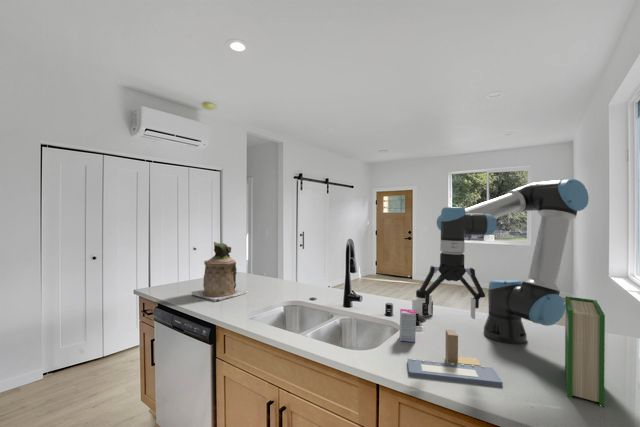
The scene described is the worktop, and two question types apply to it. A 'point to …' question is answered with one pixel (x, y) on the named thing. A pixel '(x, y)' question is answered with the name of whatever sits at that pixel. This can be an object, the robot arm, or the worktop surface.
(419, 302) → the medicine bottle
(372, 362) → the worktop surface
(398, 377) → the worktop surface
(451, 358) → the wooden l-shaped block
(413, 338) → the supplement box
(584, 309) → the hardback book
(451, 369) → the blue-grey flat rectangular block
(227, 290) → the cookie jar
